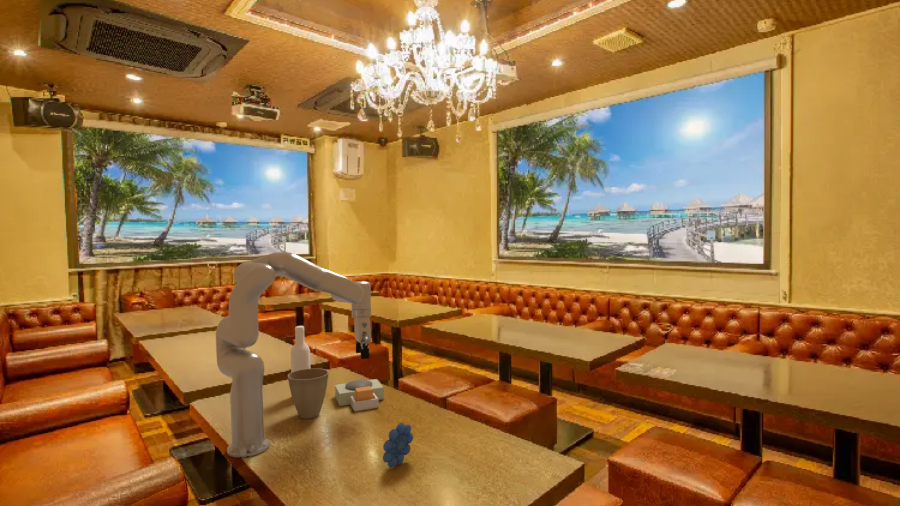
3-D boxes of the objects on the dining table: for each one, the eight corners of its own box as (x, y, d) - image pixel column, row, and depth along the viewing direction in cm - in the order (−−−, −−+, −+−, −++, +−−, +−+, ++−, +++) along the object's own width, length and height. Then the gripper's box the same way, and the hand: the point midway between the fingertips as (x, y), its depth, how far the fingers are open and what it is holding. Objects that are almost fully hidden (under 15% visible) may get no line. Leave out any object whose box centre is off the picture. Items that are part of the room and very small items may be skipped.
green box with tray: (389, 405, 184) (388, 391, 184) (343, 413, 177) (342, 398, 177) (377, 390, 203) (376, 377, 202) (335, 396, 196) (334, 383, 196)
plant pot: (332, 418, 172) (330, 376, 171) (290, 425, 167) (288, 381, 166) (327, 405, 186) (326, 366, 185) (288, 411, 181) (286, 370, 180)
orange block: (373, 406, 183) (372, 389, 183) (357, 409, 181) (357, 391, 181) (370, 403, 188) (370, 386, 187) (355, 405, 185) (355, 388, 185)
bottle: (291, 395, 198) (288, 325, 197) (310, 392, 202) (307, 324, 200) (293, 401, 191) (290, 329, 190) (312, 398, 194) (310, 327, 193)
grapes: (402, 452, 144) (402, 414, 144) (418, 459, 140) (417, 420, 140) (374, 467, 136) (373, 427, 135) (389, 474, 131) (388, 433, 131)
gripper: (375, 315, 176) (376, 359, 177) (366, 308, 192) (367, 349, 193) (356, 317, 173) (357, 362, 174) (348, 310, 189) (349, 351, 190)
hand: (362, 355), depth 183 cm, fingers open, 9 cm apart
